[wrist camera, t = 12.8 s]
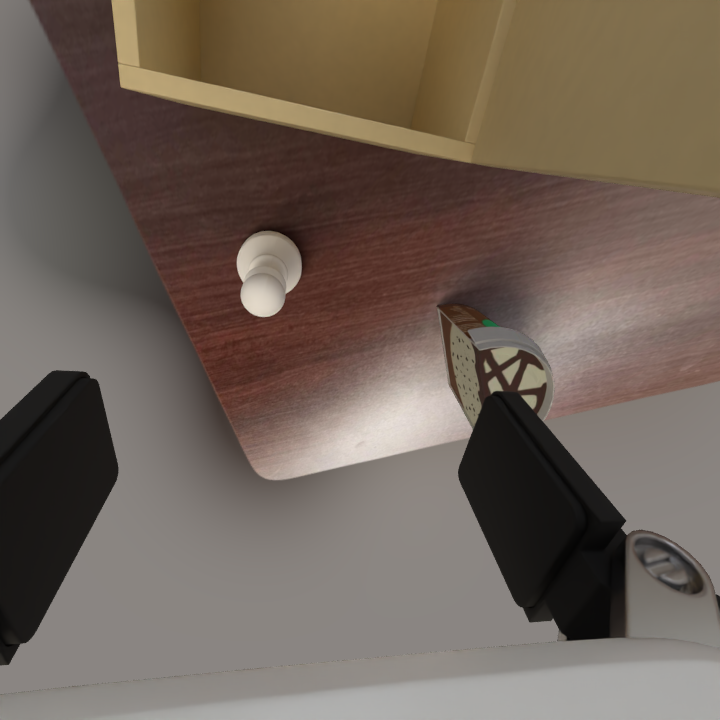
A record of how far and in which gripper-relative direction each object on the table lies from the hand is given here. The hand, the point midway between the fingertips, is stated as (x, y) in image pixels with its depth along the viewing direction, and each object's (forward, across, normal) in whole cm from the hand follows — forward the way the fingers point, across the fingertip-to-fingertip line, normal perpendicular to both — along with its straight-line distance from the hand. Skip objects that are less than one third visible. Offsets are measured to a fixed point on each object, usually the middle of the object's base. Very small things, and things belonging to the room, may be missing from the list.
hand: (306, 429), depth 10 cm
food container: (+24, -17, +9) cm, 31 cm away
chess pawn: (+24, +2, +3) cm, 25 cm away
